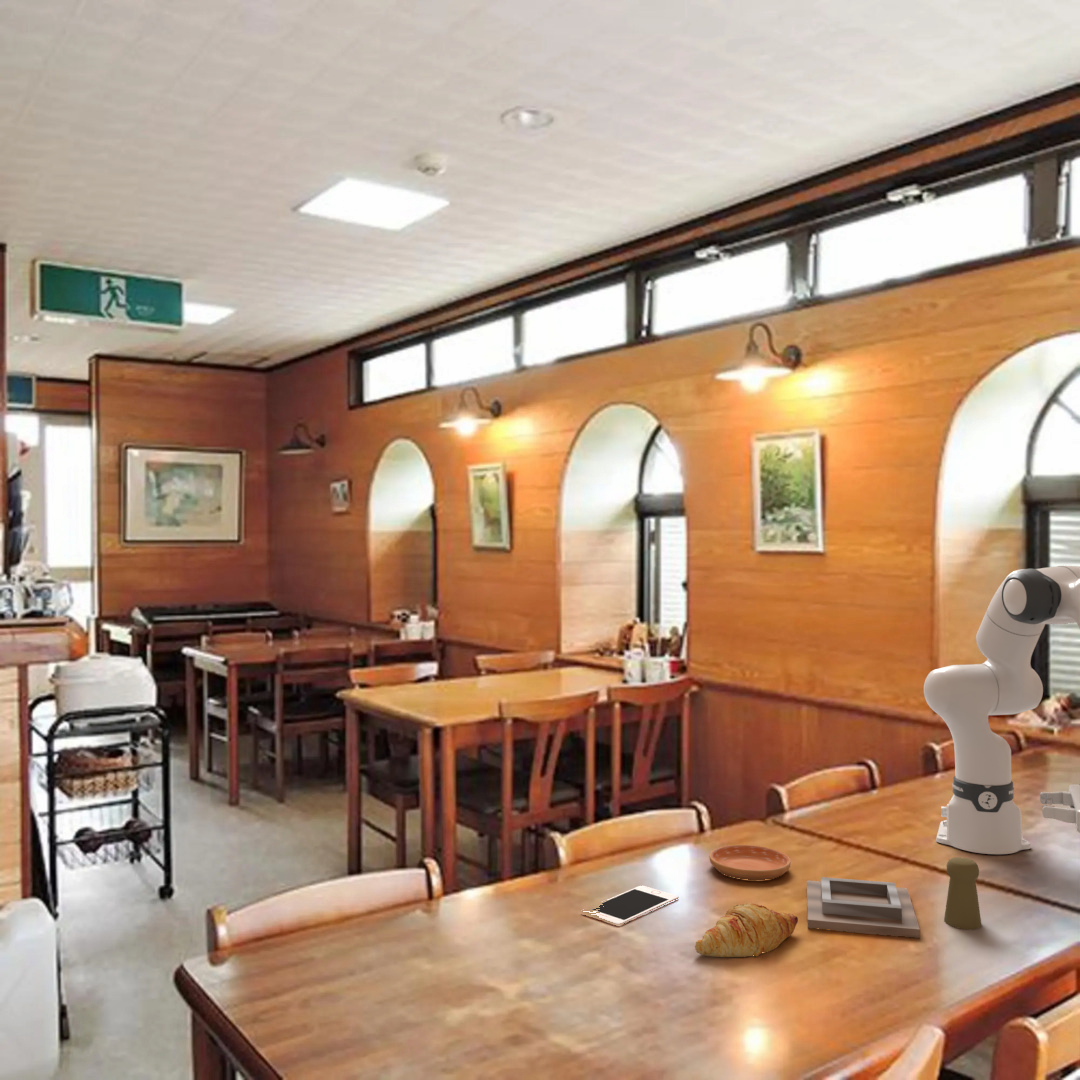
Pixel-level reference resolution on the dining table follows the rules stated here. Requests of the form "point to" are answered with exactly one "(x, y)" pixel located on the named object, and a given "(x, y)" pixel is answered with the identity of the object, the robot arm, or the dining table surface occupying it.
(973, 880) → the olive pepper mill
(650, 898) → the cell phone
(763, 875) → the saucer
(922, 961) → the dining table surface
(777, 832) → the dining table surface
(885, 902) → the square frame holder
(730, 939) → the croissant
